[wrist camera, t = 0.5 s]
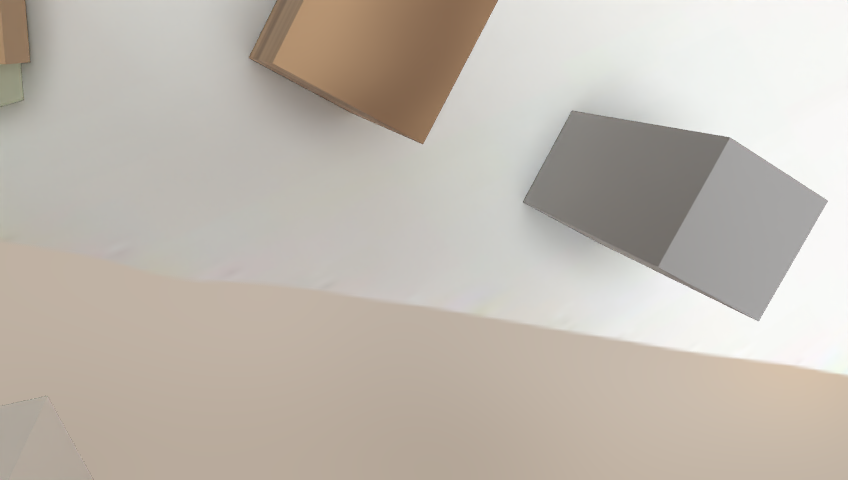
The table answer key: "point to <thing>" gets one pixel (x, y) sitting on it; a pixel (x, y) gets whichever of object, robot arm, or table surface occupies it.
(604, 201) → the slate block
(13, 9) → the base block
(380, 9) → the walnut block
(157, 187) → the table surface
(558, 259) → the table surface
